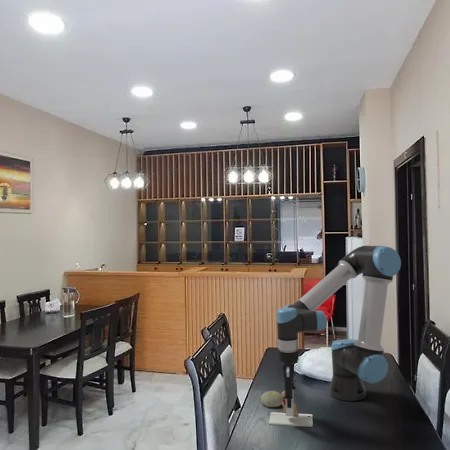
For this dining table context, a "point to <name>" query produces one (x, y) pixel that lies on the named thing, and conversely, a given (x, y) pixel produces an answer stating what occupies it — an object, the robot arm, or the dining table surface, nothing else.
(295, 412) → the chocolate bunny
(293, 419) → the mat
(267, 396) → the sea urchin shell
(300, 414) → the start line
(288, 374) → the robot arm
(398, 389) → the dining table surface
